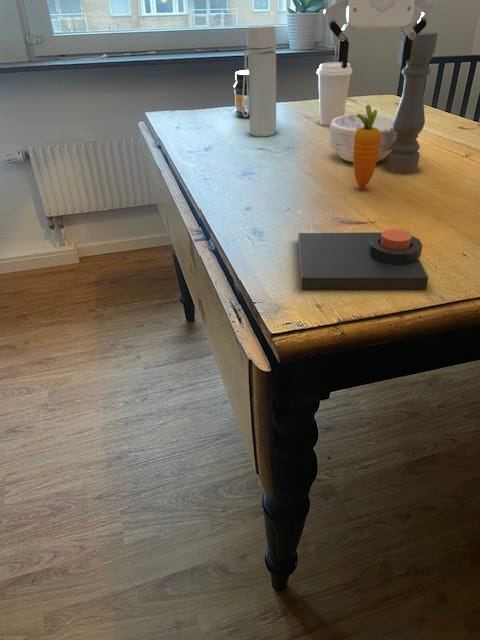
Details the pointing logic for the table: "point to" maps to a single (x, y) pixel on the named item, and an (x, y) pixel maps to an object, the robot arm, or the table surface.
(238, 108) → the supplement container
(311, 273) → the black push button box
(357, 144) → the carrot
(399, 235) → the button
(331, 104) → the coffee cup
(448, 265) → the table surface
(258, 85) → the water bottle
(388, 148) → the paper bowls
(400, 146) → the candle holder
